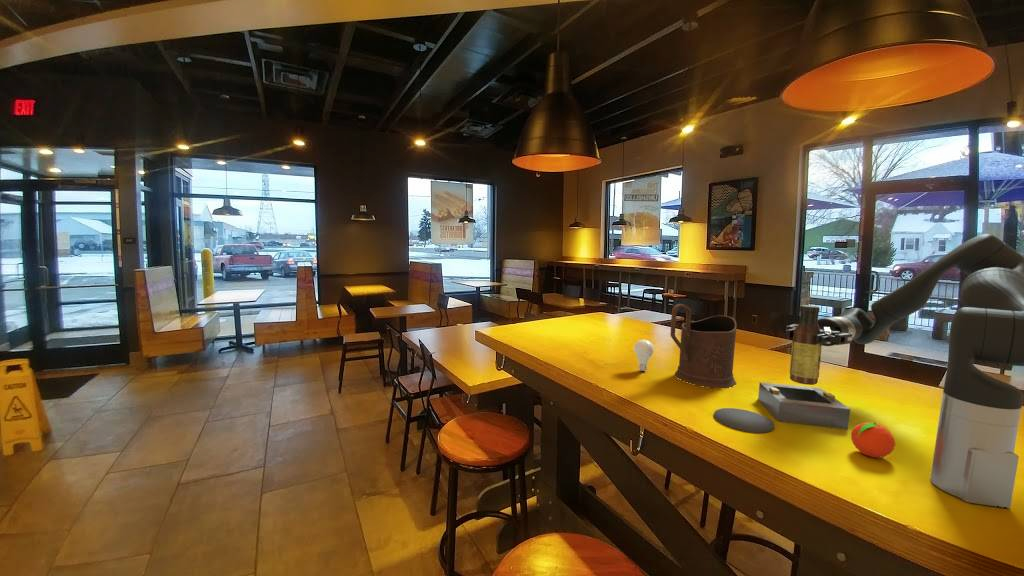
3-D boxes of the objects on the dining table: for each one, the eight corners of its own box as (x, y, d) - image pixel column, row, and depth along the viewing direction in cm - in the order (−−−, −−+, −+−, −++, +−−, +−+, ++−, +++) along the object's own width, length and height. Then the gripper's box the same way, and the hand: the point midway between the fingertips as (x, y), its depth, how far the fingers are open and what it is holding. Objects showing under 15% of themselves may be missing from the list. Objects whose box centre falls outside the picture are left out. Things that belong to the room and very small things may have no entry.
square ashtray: (848, 429, 99) (850, 405, 99) (777, 421, 103) (780, 398, 102) (818, 405, 114) (820, 385, 113) (758, 399, 117) (759, 379, 117)
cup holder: (750, 385, 129) (757, 306, 127) (691, 393, 121) (697, 309, 118) (703, 367, 147) (708, 298, 144) (648, 374, 138) (653, 300, 135)
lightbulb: (628, 369, 142) (630, 338, 141) (643, 367, 145) (644, 337, 144) (641, 375, 136) (643, 342, 135) (656, 373, 139) (658, 341, 138)
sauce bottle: (822, 387, 103) (832, 309, 101) (795, 384, 105) (803, 307, 102) (809, 378, 110) (818, 304, 107) (783, 376, 111) (791, 303, 109)
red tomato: (873, 466, 82) (877, 432, 82) (837, 449, 89) (841, 418, 88) (901, 461, 85) (905, 428, 84) (864, 445, 91) (868, 414, 90)
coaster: (782, 436, 95) (783, 433, 95) (720, 428, 98) (721, 426, 98) (763, 413, 107) (763, 411, 107) (709, 407, 110) (709, 405, 110)
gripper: (805, 313, 119) (773, 317, 110) (867, 321, 107) (837, 327, 98) (802, 338, 120) (771, 345, 111) (863, 350, 107) (834, 358, 99)
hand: (802, 336), depth 105 cm, fingers closed on sauce bottle, 6 cm apart
